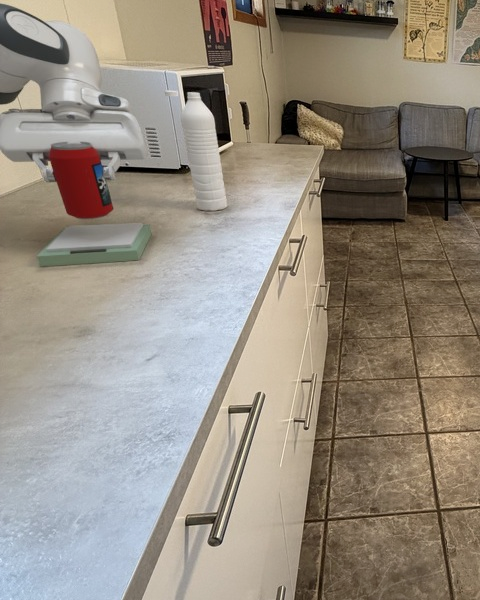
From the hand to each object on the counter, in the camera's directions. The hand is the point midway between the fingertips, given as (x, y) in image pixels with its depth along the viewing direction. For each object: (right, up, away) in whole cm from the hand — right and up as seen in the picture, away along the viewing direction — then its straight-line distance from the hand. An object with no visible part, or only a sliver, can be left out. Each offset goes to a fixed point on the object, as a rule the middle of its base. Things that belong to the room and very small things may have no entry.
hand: (80, 179), depth 79 cm
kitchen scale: (-1, -11, +6) cm, 13 cm away
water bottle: (+5, +1, +32) cm, 32 cm away
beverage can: (-1, -6, +4) cm, 7 cm away
